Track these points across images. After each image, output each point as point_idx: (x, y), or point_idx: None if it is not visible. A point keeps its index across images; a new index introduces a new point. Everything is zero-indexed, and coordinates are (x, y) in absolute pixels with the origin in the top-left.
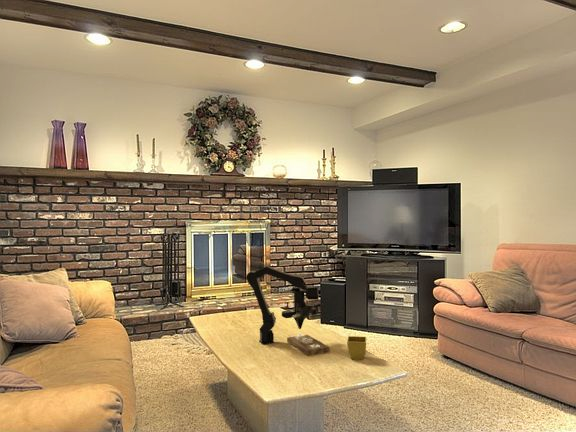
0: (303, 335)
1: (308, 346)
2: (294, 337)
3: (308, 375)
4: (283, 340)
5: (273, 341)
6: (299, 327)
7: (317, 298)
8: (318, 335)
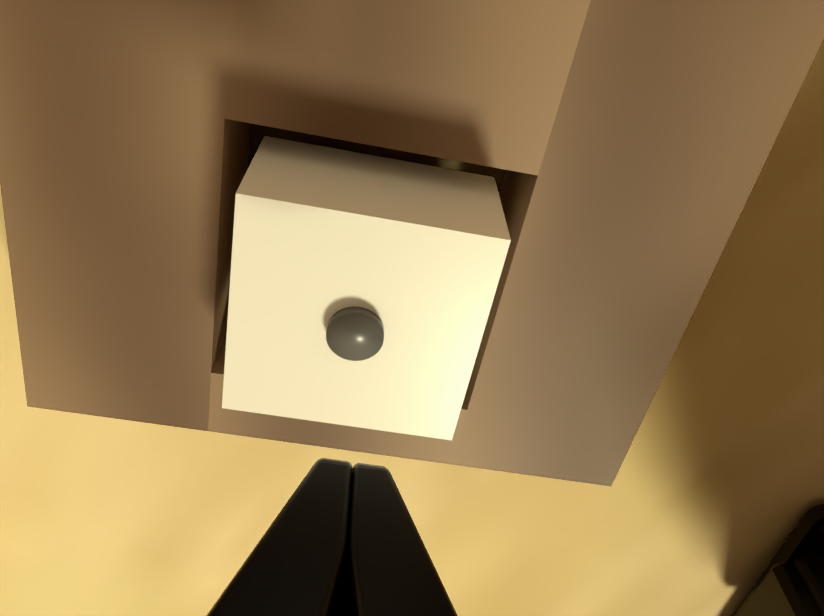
0: (293, 231)
1: None
2: None
3: None
4: (557, 520)
5: (805, 539)
6: (404, 517)
7: None
8: None
